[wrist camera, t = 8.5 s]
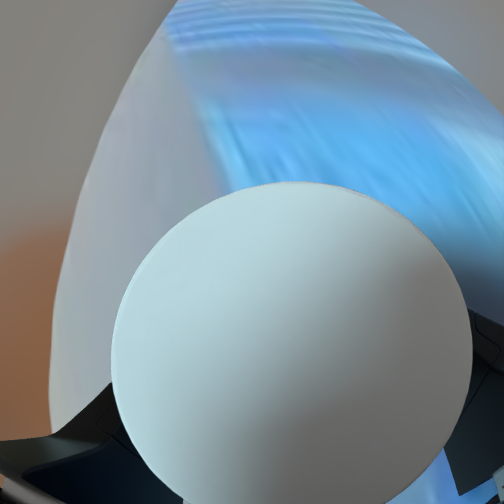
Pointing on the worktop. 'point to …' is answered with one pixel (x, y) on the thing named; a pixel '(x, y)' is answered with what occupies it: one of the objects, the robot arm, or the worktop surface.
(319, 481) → the supplement bottle
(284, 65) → the worktop surface
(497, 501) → the travel mug
